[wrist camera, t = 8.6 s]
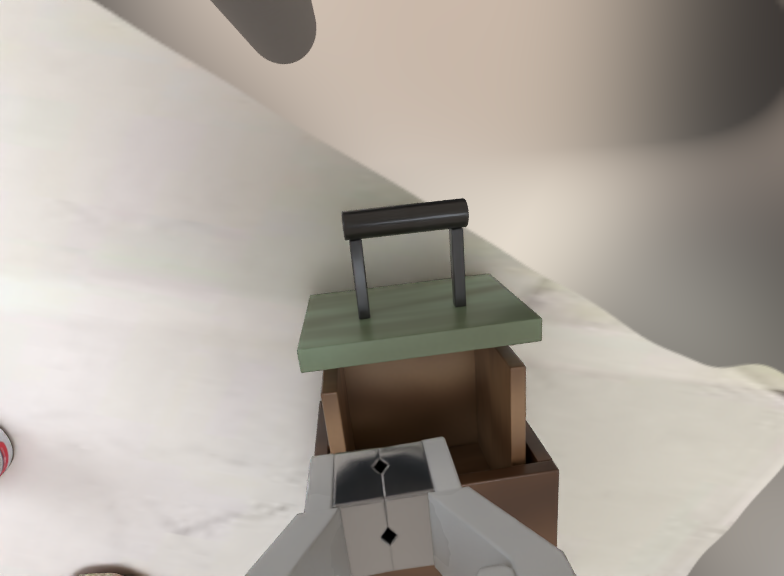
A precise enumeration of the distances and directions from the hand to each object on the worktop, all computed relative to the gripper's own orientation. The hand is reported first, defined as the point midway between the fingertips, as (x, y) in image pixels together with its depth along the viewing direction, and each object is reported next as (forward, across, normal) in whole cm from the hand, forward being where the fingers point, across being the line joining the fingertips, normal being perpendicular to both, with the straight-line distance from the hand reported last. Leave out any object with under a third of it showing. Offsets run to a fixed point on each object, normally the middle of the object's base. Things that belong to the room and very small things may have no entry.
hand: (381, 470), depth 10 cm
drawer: (+18, -3, +5) cm, 19 cm away
